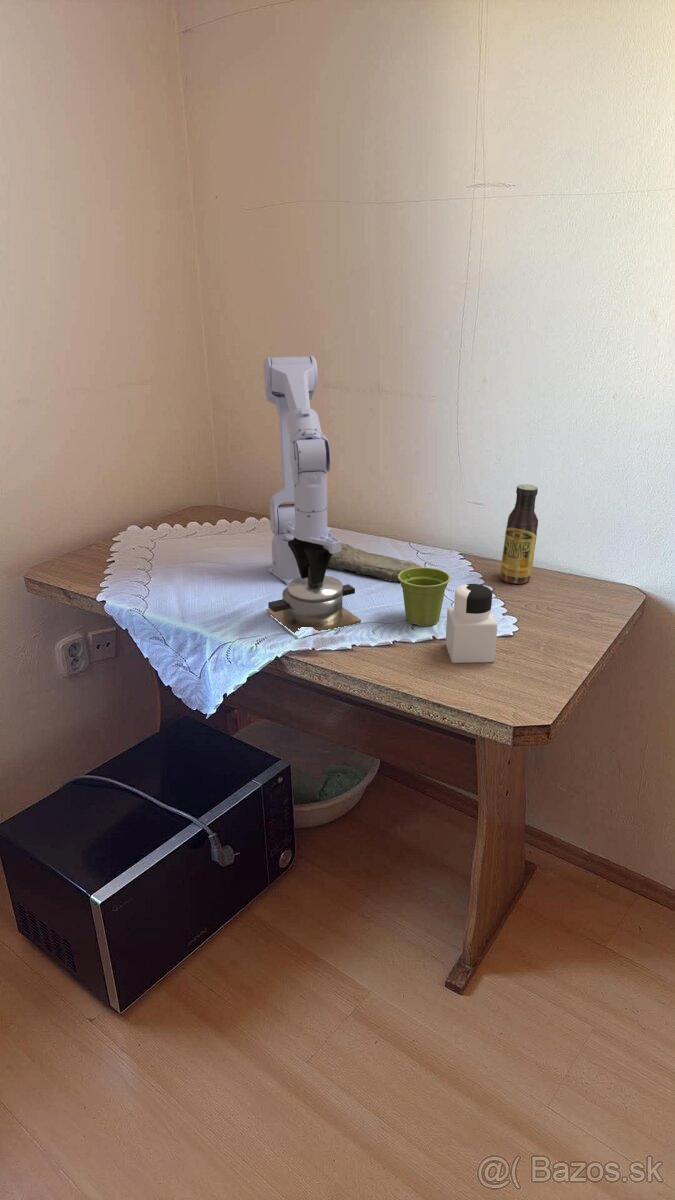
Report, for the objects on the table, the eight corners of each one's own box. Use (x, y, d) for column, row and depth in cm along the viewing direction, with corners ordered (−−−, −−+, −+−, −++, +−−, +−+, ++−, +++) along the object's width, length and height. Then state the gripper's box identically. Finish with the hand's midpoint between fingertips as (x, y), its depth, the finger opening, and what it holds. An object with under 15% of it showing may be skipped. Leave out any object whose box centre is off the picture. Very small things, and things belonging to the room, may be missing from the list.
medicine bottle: (486, 643, 139) (491, 579, 134) (494, 663, 132) (500, 596, 128) (445, 644, 139) (448, 580, 134) (451, 663, 132) (455, 597, 127)
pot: (256, 614, 150) (255, 589, 148) (334, 596, 158) (334, 572, 156) (288, 641, 140) (287, 615, 138) (369, 620, 147) (370, 595, 145)
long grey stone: (413, 597, 161) (433, 583, 169) (416, 572, 159) (436, 560, 167) (270, 557, 177) (295, 546, 185) (271, 534, 175) (297, 524, 183)
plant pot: (388, 613, 150) (389, 570, 147) (433, 606, 153) (435, 564, 150) (410, 634, 142) (411, 589, 139) (457, 626, 145) (459, 581, 142)
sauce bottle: (496, 582, 164) (503, 488, 156) (505, 572, 169) (513, 480, 161) (527, 587, 162) (537, 492, 154) (535, 577, 167) (545, 484, 159)
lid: (277, 590, 148) (276, 564, 146) (319, 576, 154) (319, 551, 151) (310, 607, 141) (309, 580, 139) (353, 592, 147) (353, 566, 144)
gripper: (354, 513, 137) (354, 586, 143) (304, 494, 148) (306, 563, 153) (322, 521, 133) (323, 596, 139) (273, 501, 144) (275, 572, 149)
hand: (312, 579), depth 146 cm, fingers closed on lid, 3 cm apart
